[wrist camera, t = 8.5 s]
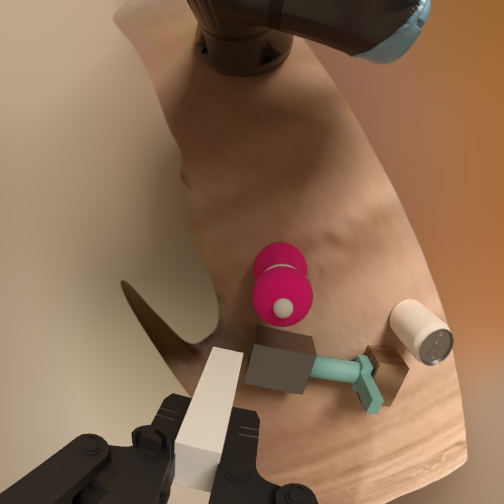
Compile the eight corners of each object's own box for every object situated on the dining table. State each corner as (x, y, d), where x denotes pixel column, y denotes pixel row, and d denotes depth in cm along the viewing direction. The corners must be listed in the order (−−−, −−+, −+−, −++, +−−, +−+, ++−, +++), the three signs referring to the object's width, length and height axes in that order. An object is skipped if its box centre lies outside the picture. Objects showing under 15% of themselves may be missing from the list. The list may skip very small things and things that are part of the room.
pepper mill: (294, 292, 46) (307, 357, 26) (249, 277, 46) (231, 335, 26) (310, 247, 45) (337, 285, 25) (264, 232, 45) (256, 259, 25)
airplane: (290, 368, 47) (294, 411, 36) (299, 343, 46) (305, 383, 35) (377, 381, 46) (397, 421, 35) (387, 358, 46) (411, 395, 35)
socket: (368, 345, 47) (379, 365, 40) (395, 349, 47) (409, 368, 40) (352, 381, 48) (361, 404, 41) (379, 384, 48) (390, 406, 41)
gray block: (257, 324, 47) (254, 343, 41) (311, 336, 47) (316, 356, 41) (247, 361, 49) (243, 383, 42) (299, 372, 48) (302, 394, 42)
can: (428, 305, 45) (463, 333, 33) (410, 338, 46) (440, 372, 34) (399, 292, 45) (432, 320, 33) (381, 327, 46) (408, 362, 34)
